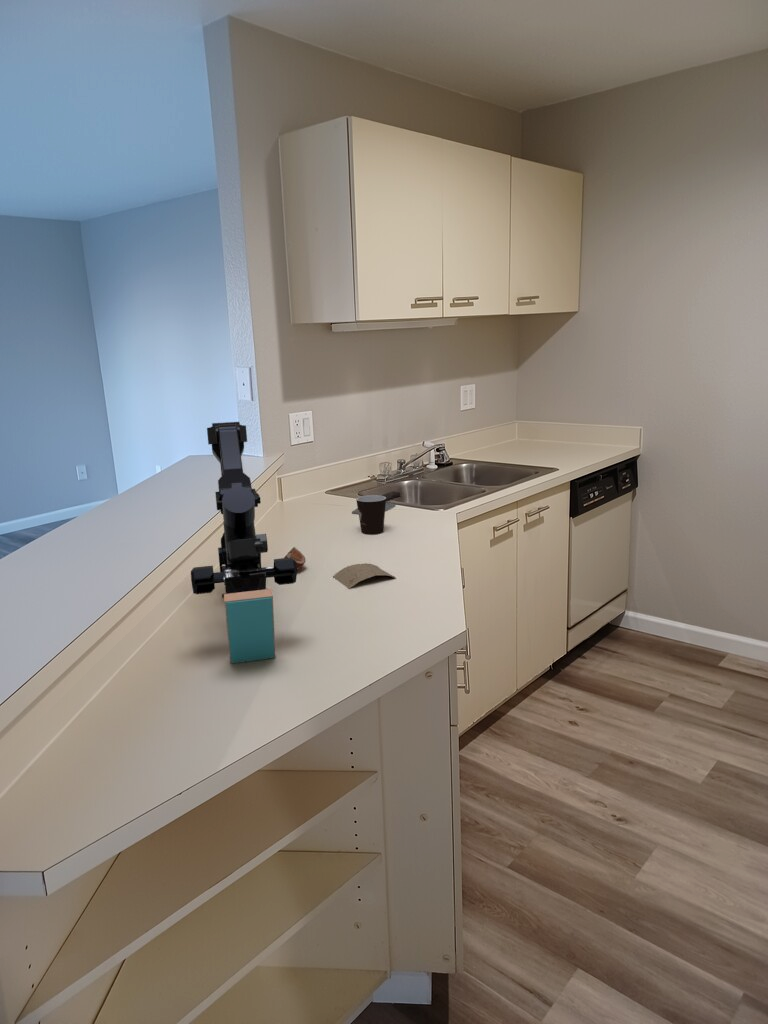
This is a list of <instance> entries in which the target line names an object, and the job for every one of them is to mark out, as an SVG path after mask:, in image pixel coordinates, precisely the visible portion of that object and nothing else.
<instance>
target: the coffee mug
mask: <svg viewBox="0 0 768 1024" xmlns="http://www.w3.org/2000/svg"><path fill="white" fill-rule="evenodd" d="M355 501H356V506H357V508H358V513H359V515H358V518H359V519H358V520H359V524H360V525H359V526H360V531H361V533H362V534H363V535H367V536H375V535H380V534H383V533H384V530H385V529H384V527H385V518H386V517H385V516H386V512H385V505H386V502H387V501H386V497H384V496H381V495H376V494H369V495H361V496H359V497H356V500H355Z"/></svg>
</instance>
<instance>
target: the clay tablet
mask: <svg viewBox="0 0 768 1024" xmlns="http://www.w3.org/2000/svg"><path fill="white" fill-rule="evenodd" d="M375 576H388V577H392V578H394V579H396V578H397V577H396V576H394V575H392V574H391V573H389V572H388V571H385V570H383V569H382V568H380V567H379V566H378V565H375V564H372V563H366V562H365V563H356V564H351V565H348V566H346V567H344V568H343V567H342V568H341V570H339V571H338V572H336V573H335V574H334V575H332V577H333V578H332V579H334V578H335V579H334V580H336V581H337V580H338V581H337V582H339V584H342V585H343V586H344V587H346V588H347V589H351V588H352V587H355V586H356V585H357V584H358V583H359V582H361V581H362V582H363V581H364V580H366V579H370V578H372V577H375Z"/></svg>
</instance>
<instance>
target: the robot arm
mask: <svg viewBox="0 0 768 1024" xmlns="http://www.w3.org/2000/svg"><path fill="white" fill-rule="evenodd" d="M206 432H207V442H208V443H207V444H208V445H211V453H212V455H213V456H214V457H215V458H216V460H217V461H218V462H219V464H220V472H221V473H220V474H221V476H220V477H219V479H218V480H217V485H218V486H217V487H218V491H215V492H214V493H215V504H216V511H220V514H221V515H222V519H223V523H222V524H223V533H222V535H221V538H220V547H218V548H217V551H218V553H217V554H218V562H219V563H218V565H219V572H218V571H217V572H214V566H213V565H206V566H205V565H204V566H196V567H192V569H191V570H190V579H191V586H192V587H191V588H192V593H193V594H194V595H203V594H211V593H213V591H214V590H215V589H216V585H215V584H222V583H223V585H224V589H225V593H222V594H221V597H222V598H224V594H230V593H239V592H248V591H256V590H265V589H267V579H268V578H273V579H274V583H275V584H277V585H278V586H282V585H283V586H284V585H292V584H294V583H297V576H298V569H297V564H296V560H295V559H293V558H292V557H291V558H284V557H283V558H274V559H273V566H263V567H262V554H263V553H268V550H269V549H268V548H269V547H268V538H267V533H259V534H256V529H255V528H256V527H255V517H256V515H255V514H256V508H258V507H259V504H261V496H260V494H259V493H258V492H257V490H256V488H252V481H251V477H249V476H248V475H247V474H245V472H244V469H243V462H242V455H243V454H244V451H245V443H247V442H248V434H247V425H242V424H240V421H231V422H230V421H227V422H213V423H212V422H211V426H210V427H207V428H206Z"/></svg>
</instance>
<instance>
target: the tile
mask: <svg viewBox="0 0 768 1024" xmlns="http://www.w3.org/2000/svg"><path fill="white" fill-rule="evenodd" d="M223 594H224V593H223ZM223 600H224V608H225V610H224V611H225V619H226V632H227V644H228V654H229V664H231V663H233V664H239V662H240V663H246V662H245V661H247V662H252V661H253V660H255V661H261V660H268V659H267V658H270V659H275V658H276V640H275V637H276V636H275V619H274V618H275V614H274V594H273V590H272V588H266V589H265V590H256V591H248V592H239V593H230V594H224V597H223ZM253 662H254V661H253Z"/></svg>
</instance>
